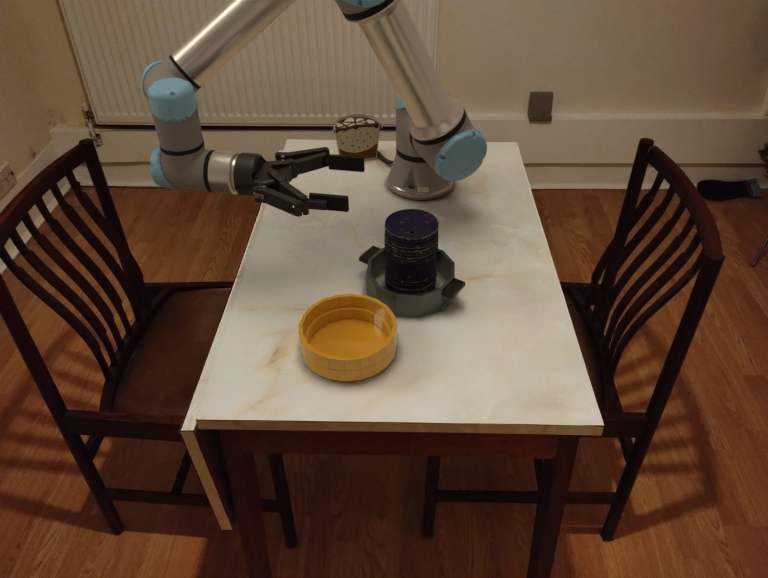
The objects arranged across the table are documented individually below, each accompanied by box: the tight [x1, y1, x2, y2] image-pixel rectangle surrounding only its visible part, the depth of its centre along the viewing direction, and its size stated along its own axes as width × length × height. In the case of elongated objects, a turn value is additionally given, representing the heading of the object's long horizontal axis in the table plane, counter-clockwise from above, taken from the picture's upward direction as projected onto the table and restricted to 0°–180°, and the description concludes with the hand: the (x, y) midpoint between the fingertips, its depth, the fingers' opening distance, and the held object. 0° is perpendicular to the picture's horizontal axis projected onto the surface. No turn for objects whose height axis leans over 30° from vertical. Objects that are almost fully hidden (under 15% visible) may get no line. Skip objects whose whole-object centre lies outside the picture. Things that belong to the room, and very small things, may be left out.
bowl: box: [298, 293, 398, 382], centre depth 114 cm, size 16×16×6 cm
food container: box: [332, 113, 383, 161], centre depth 167 cm, size 12×6×10 cm, turn 105°
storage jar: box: [383, 208, 440, 294], centre depth 123 cm, size 10×10×15 cm
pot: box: [358, 245, 466, 318], centre depth 126 cm, size 21×16×5 cm
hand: (356, 183), depth 115 cm, fingers open, 13 cm apart
